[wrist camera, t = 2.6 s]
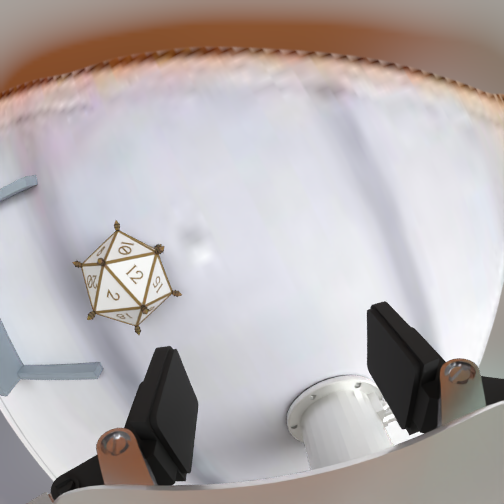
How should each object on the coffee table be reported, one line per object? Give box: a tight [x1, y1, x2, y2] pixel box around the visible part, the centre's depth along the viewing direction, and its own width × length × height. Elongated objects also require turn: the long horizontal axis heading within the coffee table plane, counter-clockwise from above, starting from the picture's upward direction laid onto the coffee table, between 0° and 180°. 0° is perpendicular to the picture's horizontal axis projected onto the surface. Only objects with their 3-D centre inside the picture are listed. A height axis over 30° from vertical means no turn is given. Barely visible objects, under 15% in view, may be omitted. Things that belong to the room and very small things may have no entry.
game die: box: [72, 221, 182, 335], centre depth 24 cm, size 9×8×10 cm
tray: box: [0, 175, 103, 396], centre depth 25 cm, size 16×23×6 cm
